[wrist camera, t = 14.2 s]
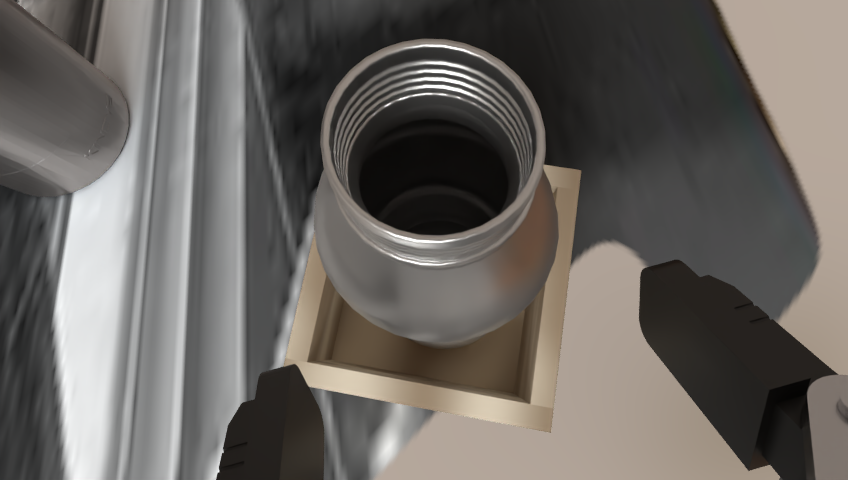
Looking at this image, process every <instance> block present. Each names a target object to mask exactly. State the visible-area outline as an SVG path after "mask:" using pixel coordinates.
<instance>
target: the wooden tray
mask: <svg viewBox="0 0 848 480" xmlns="http://www.w3.org/2000/svg"><path fill="white" fill-rule="evenodd" d="M543 169H544V171H545V173H546V175H547V178H548V180H549V182H550V185H551V188H552V192H553V196H554V200H555V204H556V208H557V212H558V228H559V239H558V245H557V251H556V256H555V261H554V263H553V266H552V268H551V271H550V273H549V276H548V278H547V281H546V283H545V284H544V285H543V287H542V288H541V290H540V291H539V293H538V294H537V296H536V297H535V299H534V300H533V301H532V302H531V303H530V304H529V305H528V306H527V307H526V308H525V309H524V310H523V311H522V312H521V313H520V314H519V315H518V316H516V317H515V318H514V319H512V320H511V321H509V322H508V323H506V324H504V325H503V326H501V327H499V328H498V329H496V330H494V331H492V332H489V333H487V334H486V335H485V336H484V337H482V338H480V339H479V340H477V341H475V342H474V343H471V344H469V345H466V346H463V347H460V348H452V349H436V348H431V347H427V346H423V345H420V344H418V343H416V342H414V341H412V340H410V339H408V338H406V337H402V336H398V335H395V334H393V333H391V332H389V331H386V330H384V329H382V328H380V327H378V326H376V325H374V324H372V323H371V322H369V321H368V320H367V319H365V318H364V317H363V316H361V315H360V314H359V313H357V312H356V311H355V310H353V309H352V308H351V306H350V305H349V304H348V303H347V302H346V301H345V300H344V299H343V298H342V296H341V295H340V294H339V293H338V292H337V291H336V289H335V288H334V286H333V284H332V282H331V281H330V279H329V277H328V276H327V274H326V272H325V271H324V268H323V265H322V262H321V259H320V256H319V253H318V250H317V246H316V238H315V232H314V236H313V241H312V245H311V249H310V254H309V258H308V262H307V267H306V271H305V275H304V280H303V284H302V288H301V293H300V297H299V301H298V306H297V310H296V314H295V319H294V323H293V327H292V332H291V336H290V340H289V345H288V349H287V353H286V358H285V362H284V366H288V365H291V364H296V365H297V366H298V367H299V369H300V371H301V373H302V375H303V377H304V379H305V381H306V383H307V385H308V386H309V387H314V388H320V389H325V390H330V391H335V392H340V393H346V394H351V395H356V396H361V397H367V398H372V399H377V400H382V401H387V402H393V403H398V404H403V405H408V406H414V407H419V408H424V409H429V410H435V411H440V412H445V413H450V414H455V415H461V416H466V417H472V418H477V419H482V420H487V421H492V422H497V423H503V424H508V425H513V426H518V427H523V428H529V429H534V430H539V431H544V432H550V433H551V427H552V418H553V408H554V401H555V392H556V384H557V375H558V366H559V358H560V357H559V356H560V349H561V340H562V332H563V323H564V314H565V306H566V297H567V288H568V280H569V272H570V263H571V254H572V246H573V237H574V228H575V220H576V211H577V203H578V194H579V185H580V177H581V170H575V169H569V168H562V167H556V166H549V165H544V166H543ZM284 366H283V367H284Z"/></svg>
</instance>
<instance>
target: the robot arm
mask: <svg viewBox="0 0 848 480" xmlns="http://www.w3.org/2000/svg"><path fill="white" fill-rule="evenodd" d="M128 127H129V112H128V108H127V104H126V100H125V98H124V96H123V95H122V93H121V91H120V89H119V88H118V87H117V86H116V85H115V84H114V82H113V81H112V80H111V79H110V78H108V77H107V76H106V75H105V74H103V73H102V72H101V71H100V70H98V69H97V68H96V67H95V66H94V65H92V64H91V63H90V62H89V61H87V60H86V59H85V58H84V57H82V56H81V55H80V54H79V53H78V52H76V51H75V50H74V49H73V48H71V47H70V46H69V45H68V44H67V43H66V42H64V41H63V40H62V39H61V38H59V37H58V36H57V35H56V34H55V33H53V32H52V31H51V30H50V29H48V28H47V27H46V26H45V25H43V24H42V23H41V22H40V21H38V20H37V19H36V18H35V17H34V16H32V15H31V14H30V13H29V12H27V11H26V10H25V9H24V8H22V7H21V6H20V5H19V4H17V3H16V2H15V1H14V0H0V185H3V186H6V187H8V188H11V189H14V190H17V191H19V192H22V193H25V194H27V195H33V196H38V197H57V196H62V195H66V194H70V193H73V192H75V191H78V190H80V189H82V188H84V187H86V186H88V185H89V184H91V183H92V182H94V181H95V180H97V179H98V178H100V177H101V176H102V175H103V174H104V173H105V172H106V171H107V170H108V169H109V168H110V167H111V165H112V164H113V163H114V161H115V160H116V158H117V157H118V155H119V154H120V152H121V150H122V147H123V145H124V143H125V141H126V136H127V132H128ZM639 321H640V326H641V330H642V333H643V335H644V337H645V339H646V341H647V342H648V344H649V345H650V347H651V348H652V349H653V350H654V352H655V353H656V354H657V356H658V357H659V358H660V359H661V361H662V362H663V363H664V364H665V366H666V367H667V368H668V369H669V371H670V372H671V373H672V374H673V375H674V377H675V378H676V379H677V381H678V382H679V383H680V385H681V386H682V387H683V388H684V390H685V391H686V392H687V393H688V395H689V396H690V397H691V398H692V400H693V401H694V402H695V403H696V405H697V406H698V407H699V409H700V410H701V411H702V412H703V414H704V415H705V416H706V417H707V419H708V420H709V421H710V422H711V424H712V425H713V426H714V428H715V429H716V430H717V431H718V433H719V434H720V435H721V436H722V438H723V439H724V440H725V441H726V443H727V444H728V445H729V446H730V448H731V449H732V450H733V451H734V453H735V454H736V455H737V457H738V458H739V459H740V460H741V462H742V463H743V464H744V465H745V467H746V468H747V469H748V470H753V469H756V468H759V467H763V466H767V465H771V466H772V467H773V469H774V470H775V471H776V472H777V473H778V475H779V476H780V479H779V480H848V375H838V374H837V373H836V372H834V371H833V370H832V369H831V368H829V367H828V366H827V365H826V364H825V363H823V362H822V361H821V360H820V359H819V358H818V357H816V356H815V355H814V354H813V353H812V352H811V351H809V350H808V349H807V348H806V347H804V345H802V344H801V343H800V342H799V341H798V340H796V339H795V338H794V337H793V336H792V335H791V334H789V333H788V332H787V331H786V330H785V329H783V328H782V327H781V326H780V325H779V324H778V323H776V322H775V321H774V320H773V319H772V320H770V319H769V316H768V315H767V314H766V313H765V312H763V311H762V310H761V309H760V308H759V307H758V306H754V305H753V302H752V301H751V300H749V299H748V298H747V297H746V296H745V295H743V294H742V293H741V292H740V291H739V290H738V289H736V288H735V287H734V286H732V285H730V284H728V283H725V282H723V281H721V280H719V279H716V278H714V277H712V276H710V275H707V276H703V277H699V276H698V275H697V274H696V273H695V272H693V271H692V270H691V269H690V268H689V267H688V266H687V265H686V264H685V263H683V262H682V261H680V260H673V261H669V262H665V263H662V264H658V265H654V266H651V267H647V268H644V269H643V270H642V272H641V277H640V306H639ZM223 450H224V453H222V456H221V461H220V465H219V470H220V472H219V473H218V474H217V479H216V480H323V478H324V425H323V419H322V415H321V412H320V409H319V406H318V404H317V402H316V400H315V398H314V396H313V394H312V393H311V391H310V389H309V387H308V385H307V383H306V381H305V379H304V377H303V375H302V373H301V371H300V369H299V367H298V366H297V365H296V364H291V365H288V366H284V367H281V368H277V369H273V370H270V371H266V372H262V373H261V374H260V376H259V379H258V384H257V390H256V396H255V400H251V401H247V402H244V403H242V404H241V405H240V407H239V409H238V410H237V412H236V413H235V415H234V417H233V418H232V420H231V422H230V423H229V425H228V428H227V433H226V438H225V442H224V447H223Z"/></svg>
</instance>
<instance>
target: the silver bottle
mask: <svg viewBox="0 0 848 480" xmlns="http://www.w3.org/2000/svg"><path fill="white" fill-rule="evenodd" d="M320 144H321V151H322V159H323V166H324V171H323V173H322V175H321V179H320V182H319V186H318V189H317V193H316V201H315V214H314V230H315V238H316V246H317V250H318V253H319V256H320V259H321V262H322V265H323V268H324V271H325V272H326V274H327V276H328V277H329V279H330V281H331V282H332V284H333V286H334V288H335V289H336V291H337V292H338V293H339V294H340V295H341V296H342V298H343V299H344V300H345V301H346V302H347V303H348V304H349V305H350V306H351V308H352V309H353V310H355V311H356V312H357V313H359V314H360V315H361V316H363V317H364V318H365V319H367V320H368V321H369V322H371V323H372V324H374V325H376V326H378V327H380V328H382V329H384V330H386V331H389V332H391V333H393V334H395V335H398V336H402V337H406V338H408V339H410V340H412V341H414V342H416V343H418V344H420V345H423V346H427V347H431V348H436V349H452V348H460V347H463V346H466V345H469V344H471V343H474V342H475V341H477V340H479V339H480V338H482V337H484V336H485V335H486V334H487V333H489V332H492V331H494V330H496V329H498V328H499V327H501V326H503V325H504V324H506V323H508V322H509V321H511V320H512V319H514V318H515V317H516V316H518V315H519V314H520V313H521V312H522V311H523V310H524V309H525V308H526V307H527V306H528V305H529V304H530V303H531V302H532V301H533V300H534V299H535V297H536V296H537V294H538V293H539V291H540V290H541V288H542V287H543V285H544V284H545V283H546V281H547V278H548V276H549V273H550V271H551V268H552V266H553V263H554V261H555V256H556V251H557V245H558V239H559V228H558V212H557V208H556V204H555V200H554V196H553V192H552V188H551V185H550V182H549V180H548V178H547V175H546V173H545V171H544V169H543V166H544V160H545V152H546V143H545V128H544V124H543V120H542V116H541V112H540V109H539V107H538V105H537V103H536V101H535V99H534V97H533V95H532V93H531V91H530V90H529V89H528V87H527V86H526V85H525V83H524V82H523V81H522V80H521V78H520V77H519V76H518V75H517V74H516V73H515V72H514V71H513V70H512V69H510V68H509V67H508V66H507V65H506V64H505V63H504V62H502V61H501V60H499V59H497V58H496V57H494V56H492V55H491V54H489V53H487V52H486V51H484V50H481V49H478V48H476V47H473V46H471V45H468V44H465V43H461V42H456V41H451V40H446V39H418V40H412V41H405V42H401V43H398V44H395V45H391V46H388V47H385V48H383V49H381V50H379V51H377V52H375V53H373V54H372V55H370V56H368V57H366V58H365V59H363V60H362V61H361V62H360V63H358V64H357V65H356V66H355V67H353V68H352V69H351V70H350V71H349V72H348V73H347V74H346V76H345V77H344V78H343V79H342V80H341V82H340V83H339V84H338V85H337V87H336V88H335V90H334V92H333V94H332V96H331V98H330V99H329V101H328V103H327V106H326V110H325V113H324V116H323V120H322V126H321V139H320Z"/></svg>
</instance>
